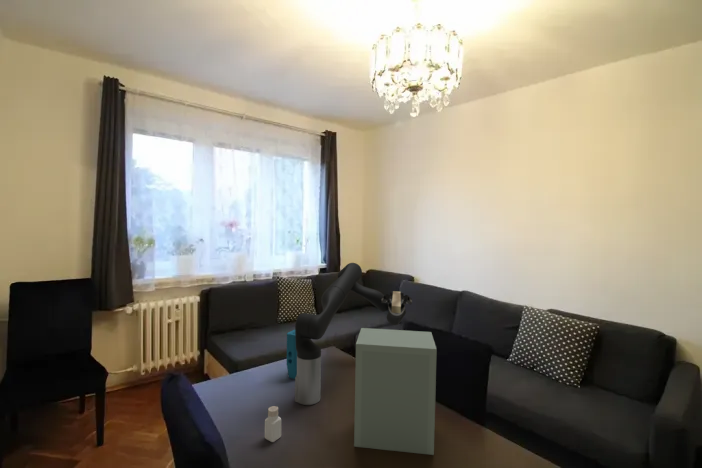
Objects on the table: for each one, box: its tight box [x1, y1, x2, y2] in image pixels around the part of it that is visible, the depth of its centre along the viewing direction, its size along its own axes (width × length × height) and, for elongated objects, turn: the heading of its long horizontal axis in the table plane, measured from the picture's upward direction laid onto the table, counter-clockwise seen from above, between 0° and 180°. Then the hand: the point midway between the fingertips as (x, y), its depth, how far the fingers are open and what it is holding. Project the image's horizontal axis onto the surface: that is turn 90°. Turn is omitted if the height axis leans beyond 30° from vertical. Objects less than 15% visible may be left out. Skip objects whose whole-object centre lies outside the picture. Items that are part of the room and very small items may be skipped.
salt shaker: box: [264, 405, 282, 443], centre depth 109 cm, size 4×4×10 cm
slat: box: [392, 290, 401, 313], centre depth 136 cm, size 3×26×2 cm, turn 172°
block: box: [286, 329, 297, 380], centre depth 154 cm, size 12×5×20 cm, turn 153°
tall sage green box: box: [353, 327, 438, 456], centre depth 111 cm, size 24×16×32 cm, turn 82°
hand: (396, 294), depth 142 cm, fingers closed on slat, 3 cm apart
